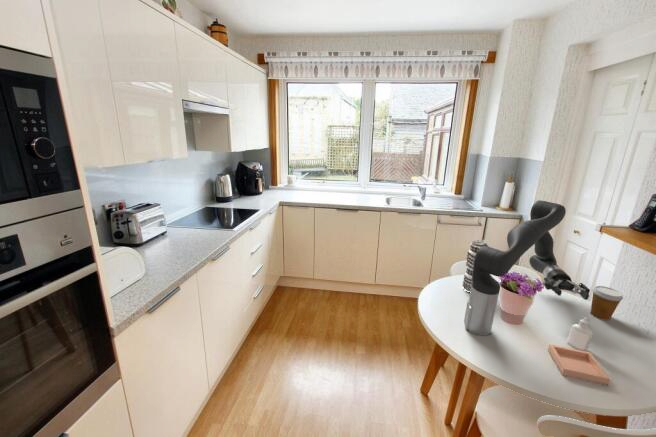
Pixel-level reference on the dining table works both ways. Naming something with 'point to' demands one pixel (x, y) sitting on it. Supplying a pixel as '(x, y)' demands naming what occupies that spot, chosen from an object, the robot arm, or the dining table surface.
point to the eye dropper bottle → (580, 335)
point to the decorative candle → (471, 263)
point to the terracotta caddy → (578, 364)
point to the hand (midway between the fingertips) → (573, 295)
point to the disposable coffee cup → (604, 302)
